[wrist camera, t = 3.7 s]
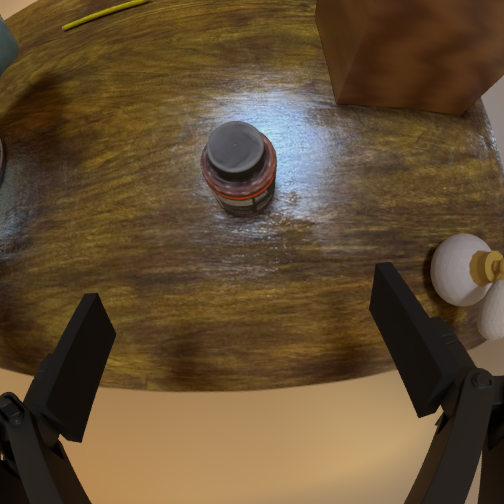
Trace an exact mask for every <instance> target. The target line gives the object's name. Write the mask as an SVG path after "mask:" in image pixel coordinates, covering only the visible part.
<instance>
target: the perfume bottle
mask: <svg viewBox="0 0 504 504" xmlns="http://www.w3.org/2000/svg"><path fill="white" fill-rule="evenodd" d="M430 274H431V279H432V284H433V286H434V288H435V290H436V292H437V293H438V294H439V296H440V297H441V298H442V299H444V300H445V301H446V302H448V303H450V304H453V305H455V306H468V305H473V304H475V303H476V302H478V301H480V300H481V299H482V298H483V297H484V298H483V300H482V302H481V305H480V308H479V312H478V317H477V326H478V330H479V332H480V334H481V335H482V336H483V337H484V338H486V339H488V340H498V339H500V338H502V337H504V258H503V256H502V255H501V254H500V253H499V252H498V251H491V250H490V248H489V247H488V246H487V244H486V243H485V242H484V241H483V240H481V239H480V238H478V237H476V236H474V235H471V234H463V233H460V234H456V235H452V236H450V237H449V238H447V239H445V240H444V241H443V242H442V243H441V244H440V245H439V246H438V248H437V249H436V251H435V252H434V255H433V258H432V261H431V270H430Z"/></svg>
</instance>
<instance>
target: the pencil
mask: <svg viewBox="0 0 504 504" xmlns="http://www.w3.org/2000/svg"><path fill="white" fill-rule="evenodd" d="M147 1H148V0H134V1H131V2H127V3H124V4H121V5H118V6H115V7H111V8H108V9H106V10H103V11H100V12H97V13H94V14H92V15H89V16H86V17H84V18H81V19H79V20H76V21H74V22H72V23H69V24H67V25H65V26H63V27H62V29H63V31H65V30H67V29H69V28H72V27H74V26H77V25H79V24H82V23H84V22H87V21H90V20H92V19H95V18H98V17H100V16H103V15H106V14H109V13H112V12H115V11H118V10H122V9H125V8H128V7H132V6H135V5H139V4H142V3H145V2H147Z"/></svg>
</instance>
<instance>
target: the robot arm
mask: <svg viewBox="0 0 504 504" xmlns="http://www.w3.org/2000/svg"><path fill="white" fill-rule="evenodd" d="M17 54H18V44H17V42H16V40H15V38H14V37H13V35H12V33H11V32H10V30H9V28H8V27H7V25H6V23H5V22H4V20H3V18H2V17H1V15H0V77H1V75H2V73H3V72H4V71H5V70H6V69H7V68H8V67H9V65H10V64H11V63H12V62H13V61H14V60H15V58H16V57H17ZM5 165H6V147H5V143H4V140H3V138H2V137H1V136H0V186H1V183H2V179H3V175H4V171H5ZM369 310H370V312H371V314H372V316H373V318H374V320H375V322H376V325H377V327H378V329H379V331H380V333H381V335H382V337H383V339H384V341H385V343H386V345H387V347H388V350H389V352H390V354H391V356H392V358H393V360H394V363H395V365H396V367H397V369H398V371H399V374H400V376H401V378H402V380H403V383H404V385H405V387H406V389H407V392H408V394H409V396H410V399H411V401H412V404H413V406H414V408H415V410H416V413H417V416H418V418H421V417H424V416H427V415H430V414H433V413H435V412H436V411H437V409H438V407H439V406H440V405H441V407H442V409H443V411H444V412H443V413H442V415H441V416H440V418H439V419H438V420H437V422H436V424H435V425H436V426H437V425H438V426H437V429H436V432H435V435H434V437H433V440H432V443H431V445H430V448H429V450H428V453H427V455H426V458H425V460H424V462H423V465H422V467H421V469H420V472H419V474H418V476H417V478H416V480H415V482H414V485H413V486H412V489H411V491H410V493H409V495H408V497H407V498H406V500H405V503H404V504H464V503H465V500H466V498H467V495H468V492H469V489H470V487H471V484H472V481H473V478H474V475H475V472H476V468H477V465H478V462H479V458H480V455H481V451H482V465H481V466H482V467H481V478H480V488H479V497H478V504H504V376H492V375H491V374H490V373H489V372H488V371H487V370H484V369H482V368H477V367H476V366H475V364H474V362H473V361H472V359H471V357H470V356H469V354H468V353H467V351H466V350H465V348H464V346H463V345H462V343H461V342H460V341H459V339H458V337H457V336H456V334H454V331H453V330H452V328H451V327H450V325H449V324H448V323H447V322H446V321H444V320H443V319H442V318H440V317H439V316H438V317H434V318H429V316H428V315H427V313H426V312H425V310H424V309H423V307H422V306H421V304H420V303H419V301H418V300H417V299H416V297H415V296H414V294H413V293H412V291H411V290H410V288H409V287H408V286H407V284H406V283H405V281H404V280H403V279H402V277H401V276H400V274H399V273H398V272H397V270H396V269H395V267H394V266H393V265H392V263H391V262H385V263H378V264H376V266H375V274H374V281H373V288H372V295H371V301H370V307H369ZM115 337H116V332H115V330H114V328H113V326H112V324H111V322H110V320H109V318H108V315H107V313H106V311H105V309H104V307H103V304H102V302H101V300H100V297H99V295H98V293H90V294H84V296H83V298H82V300H81V301H80V303H79V305H78V307H77V309H76V310H75V312H74V314H73V316H72V318H71V320H70V321H69V323H68V325H67V327H66V329H65V331H64V333H63V335H62V337H61V339H60V341H59V342H58V344H57V346H56V348H55V350H54V352H53V354H48V355H47V356H46V357H45V358H44V360H43V361H42V362H41V364H40V366H39V368H38V370H37V371H38V372H36V374H35V376H34V379H33V381H32V383H31V385H30V387H29V389H28V392H27V394H26V396H25V398H24V401H23V403H22V402H21V401H20V400H19V398H18V397H17V396H16V395H15V394H14V393H12V392H6V393H3V394H2V395H1V396H0V504H92V503H91V502H90V500H89V498H88V496H87V495H86V493H85V491H84V489H83V487H82V485H81V483H80V482H79V479H78V478H77V476H76V474H75V472H74V470H73V467H72V466H71V463H70V461H69V459H68V457H67V455H66V452H65V450H64V448H63V445H62V443H61V442H60V441H59V440H58V437H59V434H61V435H62V436H63V437H64V438H65V439H66V440H68V441H74V442H79V443H81V442H82V438H83V435H84V431H85V428H86V425H87V421H88V418H89V414H90V411H91V408H92V404H93V401H94V398H95V395H96V392H97V389H98V386H99V383H100V380H101V377H102V374H103V371H104V368H105V365H106V362H107V359H108V356H109V353H110V351H111V348H112V345H113V342H114V340H115ZM1 454H2V455H3V460H1Z"/></svg>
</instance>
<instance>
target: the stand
mask: <svg viewBox="0 0 504 504" xmlns="http://www.w3.org/2000/svg"><path fill="white" fill-rule="evenodd" d="M314 17H315V20H316V24H317V27H318V31H319V34H320V38H321V42H322V45H323V49H324V53H325V57H326V61H327V65H328V69H329V73H330V78H331V82H332V87H333V91H334V96H335V100H336V104H348V105H369V106H384V107H396V108H406V109H415V110H424V111H432V112H439V113H446V114H452V115H458V116H460V115H461V114H462V113H463V112H464V111H465V110H467V109H468V108H469V107H470V106H471V105H472V104H473V103H474V102H475V101H476V100H478V99H479V98H480V97H481V95H483V94H484V93H485V92H486V91H487V90H488V89H489V88H490V87H492V86H493V85H494V84H495V83H496V82H497V81H498V80H499V79H500V78H501V77H502V76H503V75H504V0H317V5H316V11H315V16H314Z"/></svg>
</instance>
